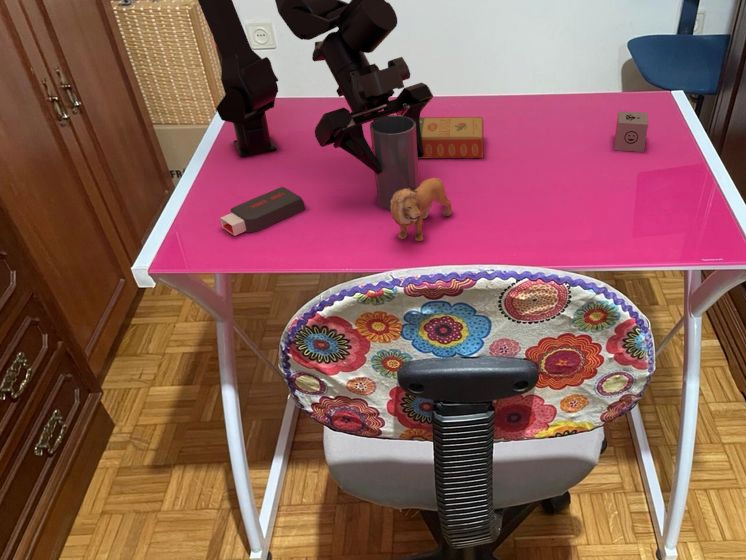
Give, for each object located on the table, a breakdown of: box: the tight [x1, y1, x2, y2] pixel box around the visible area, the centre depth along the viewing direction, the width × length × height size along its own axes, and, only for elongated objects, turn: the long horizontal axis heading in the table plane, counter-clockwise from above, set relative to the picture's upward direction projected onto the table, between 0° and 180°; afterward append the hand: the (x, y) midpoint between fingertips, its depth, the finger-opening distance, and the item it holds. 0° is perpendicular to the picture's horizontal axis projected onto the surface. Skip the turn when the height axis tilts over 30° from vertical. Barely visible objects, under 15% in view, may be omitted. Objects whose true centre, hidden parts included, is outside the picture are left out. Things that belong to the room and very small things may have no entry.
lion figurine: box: [390, 177, 452, 242], centre depth 105 cm, size 15×5×9 cm, turn 159°
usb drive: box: [219, 186, 306, 237], centre depth 109 cm, size 5×12×3 cm, turn 136°
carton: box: [418, 116, 484, 159], centre depth 126 cm, size 8×16×4 cm, turn 88°
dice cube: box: [614, 110, 649, 153], centre depth 127 cm, size 5×5×5 cm
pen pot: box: [369, 114, 420, 211], centre depth 110 cm, size 7×7×12 cm
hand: (401, 164), depth 109 cm, fingers open, 8 cm apart
